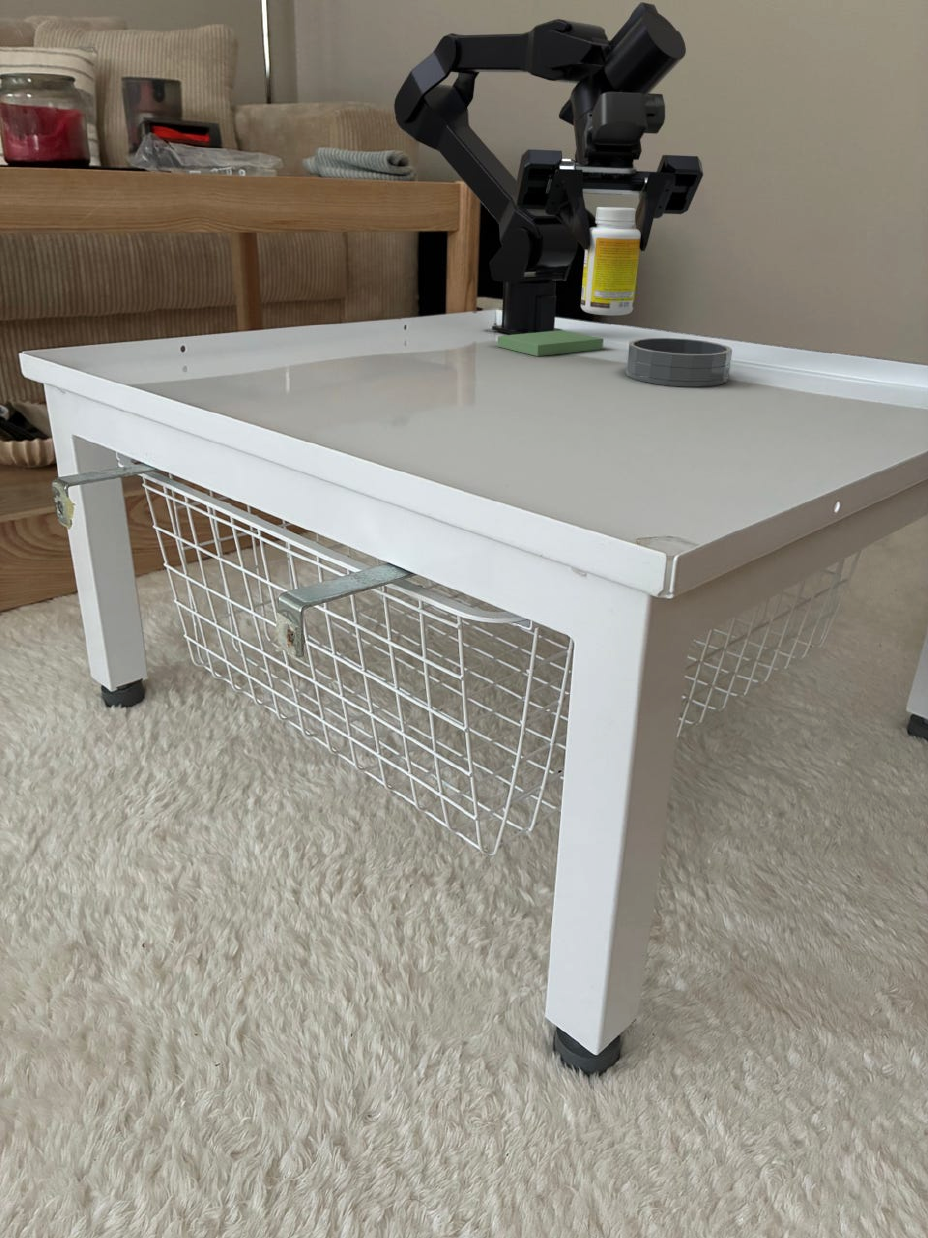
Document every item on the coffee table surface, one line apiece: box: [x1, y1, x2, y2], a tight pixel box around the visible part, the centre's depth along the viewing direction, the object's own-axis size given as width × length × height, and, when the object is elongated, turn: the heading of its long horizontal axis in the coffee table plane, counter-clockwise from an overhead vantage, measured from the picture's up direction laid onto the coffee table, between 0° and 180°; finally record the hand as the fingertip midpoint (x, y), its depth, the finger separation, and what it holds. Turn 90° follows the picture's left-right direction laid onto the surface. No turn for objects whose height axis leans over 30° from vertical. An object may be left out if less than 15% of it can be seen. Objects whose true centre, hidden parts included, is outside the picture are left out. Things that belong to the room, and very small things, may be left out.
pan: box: [625, 337, 733, 388], centre depth 95 cm, size 10×10×3 cm
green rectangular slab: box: [497, 329, 604, 357], centre depth 109 cm, size 7×10×1 cm
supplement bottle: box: [580, 206, 641, 316], centre depth 98 cm, size 6×6×10 cm
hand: (615, 247), depth 96 cm, fingers closed on supplement bottle, 5 cm apart
